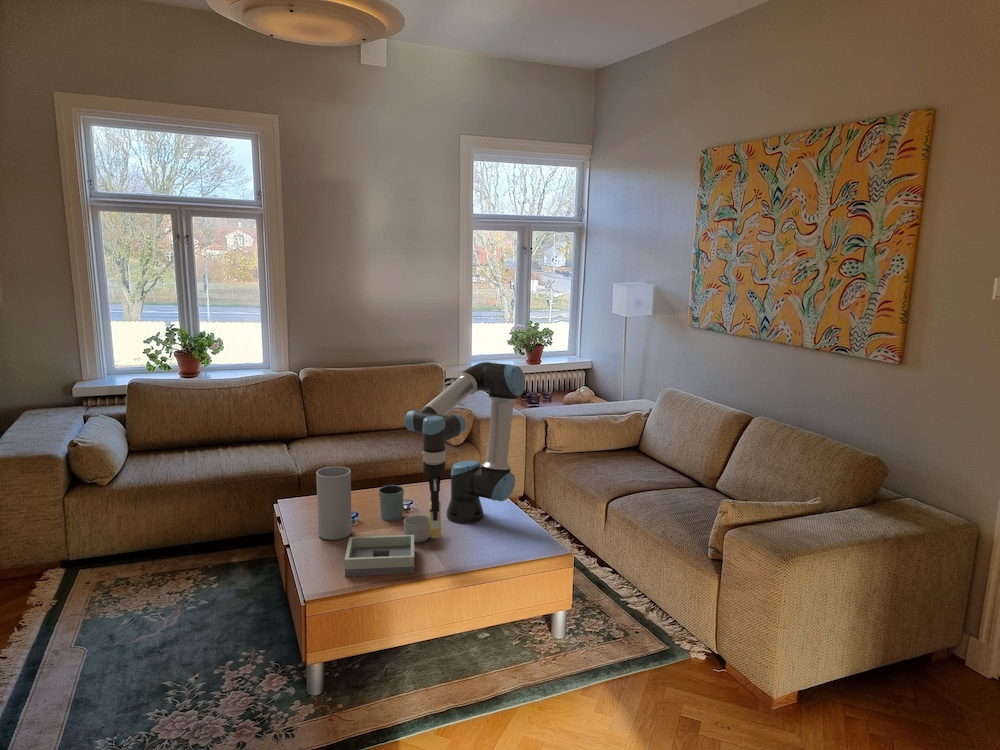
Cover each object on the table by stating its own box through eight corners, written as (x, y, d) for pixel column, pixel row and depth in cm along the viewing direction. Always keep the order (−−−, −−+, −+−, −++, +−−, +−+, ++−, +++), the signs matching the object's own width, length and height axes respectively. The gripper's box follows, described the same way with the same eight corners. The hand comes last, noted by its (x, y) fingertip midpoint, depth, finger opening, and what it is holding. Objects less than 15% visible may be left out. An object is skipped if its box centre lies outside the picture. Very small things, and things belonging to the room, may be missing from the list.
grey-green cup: (401, 511, 279) (401, 483, 277) (406, 520, 270) (406, 492, 268) (377, 513, 276) (377, 486, 274) (381, 523, 267) (380, 494, 264)
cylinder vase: (343, 542, 248) (341, 478, 244) (312, 538, 251) (310, 475, 246) (357, 529, 260) (355, 467, 256) (327, 526, 263) (325, 465, 258)
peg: (440, 532, 235) (440, 500, 233) (441, 537, 231) (440, 505, 229) (429, 533, 234) (428, 501, 232) (429, 538, 231) (429, 505, 228)
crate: (414, 550, 243) (414, 534, 242) (414, 573, 225) (414, 556, 224) (349, 552, 240) (349, 537, 239) (344, 576, 222) (344, 559, 221)
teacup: (409, 547, 245) (409, 527, 244) (399, 536, 255) (399, 516, 253) (444, 540, 251) (444, 520, 250) (433, 530, 261) (433, 510, 259)
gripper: (422, 454, 235) (423, 516, 240) (423, 470, 219) (424, 536, 223) (444, 453, 236) (444, 515, 241) (446, 469, 220) (447, 535, 224)
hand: (435, 525), depth 232 cm, fingers closed on peg, 4 cm apart
